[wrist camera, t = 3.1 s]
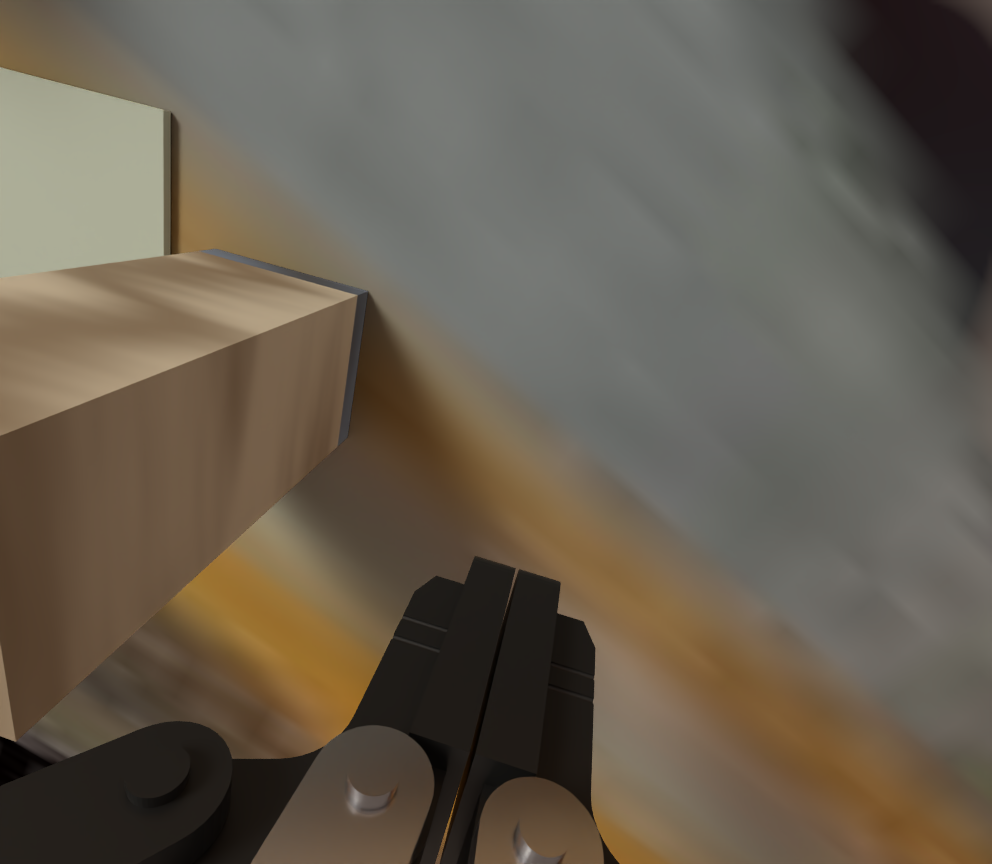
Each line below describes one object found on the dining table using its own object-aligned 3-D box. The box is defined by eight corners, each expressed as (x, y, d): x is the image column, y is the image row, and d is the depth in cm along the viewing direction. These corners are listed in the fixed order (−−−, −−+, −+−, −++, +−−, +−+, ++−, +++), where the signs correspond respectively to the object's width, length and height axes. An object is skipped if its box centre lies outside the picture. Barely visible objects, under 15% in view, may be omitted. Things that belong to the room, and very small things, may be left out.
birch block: (211, 396, 20) (-271, 638, 9) (215, 248, 18) (-400, 331, 7) (347, 437, 20) (15, 741, 9) (368, 291, 18) (-31, 447, 7)
